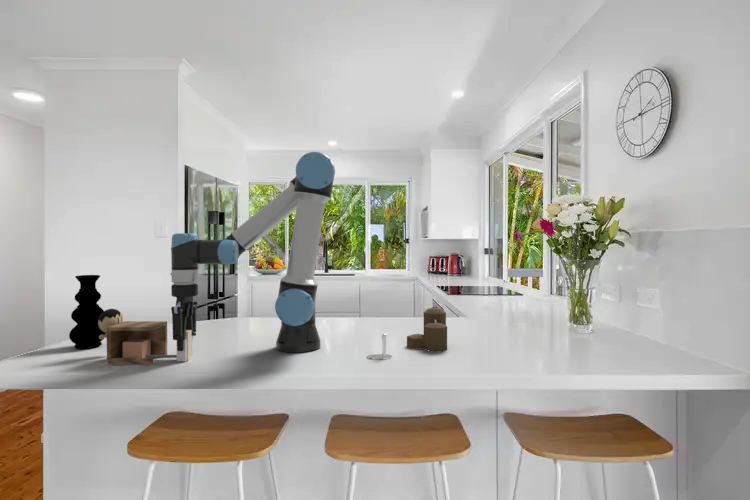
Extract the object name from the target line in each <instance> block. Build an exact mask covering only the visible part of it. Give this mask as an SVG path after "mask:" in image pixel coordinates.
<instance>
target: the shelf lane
mask: <svg viewBox="0 0 750 500" xmlns="http://www.w3.org/2000/svg"><path fill="white" fill-rule="evenodd" d="M130 339H151V355H168V321H166V320H164V321H160V320H159V321H154V320H153V321H148V320H147V321H143V320H141V321H140V320H139V321H136V320H135V321H130V320H129V321H123V322H122V323H119V324H116V325H112V326H109V327H107V338H106V364H107V365H152V364H154V358H123V342H124V341H127V340H130Z"/></svg>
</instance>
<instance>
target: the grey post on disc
mask: <svg viewBox="0 0 750 500" xmlns="http://www.w3.org/2000/svg"><path fill="white" fill-rule="evenodd" d="M381 340H382V344H381V346H382V349H381V350H382V351H381V352H382V353H380V354H377V353H376V354H374V353H373V354H368V355H367V356H366V358H367V357H368V358H373V359H372V360H374V359H376V360H390V359H389V358H391V359H393V355H391V354H387V333H382V335H381ZM368 358H367V359H368Z"/></svg>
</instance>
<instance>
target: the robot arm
mask: <svg viewBox="0 0 750 500" xmlns="http://www.w3.org/2000/svg"><path fill="white" fill-rule="evenodd" d="M335 175H336V168H335V165H334V162H333V161H332V159H331V158H330V157H329V156H328V155H326V153H323V152H320V151H309V152H307V153H305V154H303V155H302V156H301V157H300V158H299V160H298V161H297V163H296V166H295V177H294V178H293V179H292V180H290V181H289V184H288V185H289V186H288V187H286V188H285V189H284V190H283V191H281V192H280V193H279V194H278V195H277V196H275V197H274V198H273V199H271V201H269V202H268V203H267V204H266V205H264V206H263V207H262V208H261V209H259V210H258V211H256V213H255V214H253V215H252V216H251V217H249V218H248V219H247V220H246V221H245V222H243V223H242V224H241V225H239V227H237V228H236V229H235V230H234V231H232V232H231V233H230V234H229V235H228V236H226V237H225V238H224V239H199V237H198V234H197V233H190V232H189V233H187V232H186V233H185V232H181V233H177V232H176V233H174V234H172V236H171V247H170V250H171V251H170V252H171V254H170V255H171V257H170V259H171V272H170V276H171V282H172V284H171V288H170V289H171V294H170V295H171V296H172V297H173V298H176V301H175V306H171V314H172V315H171V316H172V318H171V319H172V340H173V341H176V355H177V358H176V362H188V361H187V339H185V333H186V330H192V358H193V357H194V337H195V336H197V333H196V332H197V305H198V302H197V301H194V297H197V296H198V294H199V285H198V284H197V282H198V281H199V267H198V266H199V265H203V264H204V265H224V266H225V265H233V264H234V265H235V264H236V263H237V262H238V260H239V258H240V256H241V255H243V254H244V253H245V252H246V251H247V250H248V249H249V248H251V247H252V246H253V245H254V244H256V243H257V242H258V241H259V240H260V239H262V238H263V237H264V236H265V235H266V234H268V233H269V232H270V231H272V230H273V229H275V227H277V226H278V225H279V224H280V223H281V222H283V221H284V220H285V219H286V218H287V217H289V216H290V215H291V214H293V213H294V212H295V214H294V215H295V216H294V223H293V228H292V236H291V243H290V249H289V255H288V263H287V268H286V274H285V275H284V276H283V277H282V278H280V282H279V288H278V296H277V298H276V300H275V302H274V303H275V304H274V309H275V313H276V316H277V318H278V319H279V320H280V321H281V323H280V324H281V325H280V330H279V332H278V335H277V338H276V342H275V344H276V345H275V349H276V350H277V351H279V352H283V351H284V353H306V351H307V352H312V351H311V350H313V351H316V350H315V349H317V350H319V349H320V348H321V338H320V335H319V331H318V328H317V326H316V298H317V290H318V285H319V284H318V283H317V281H316V280H315V273H316V265H317V261H318V260H317V259H318V253H319V245H320V239H321V233H322V225H323V219H324V212H325V205H326V203H328V202H329V201H330V200H331V197H332V191H333V184H334V179H335ZM318 348H319V349H318Z"/></svg>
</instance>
